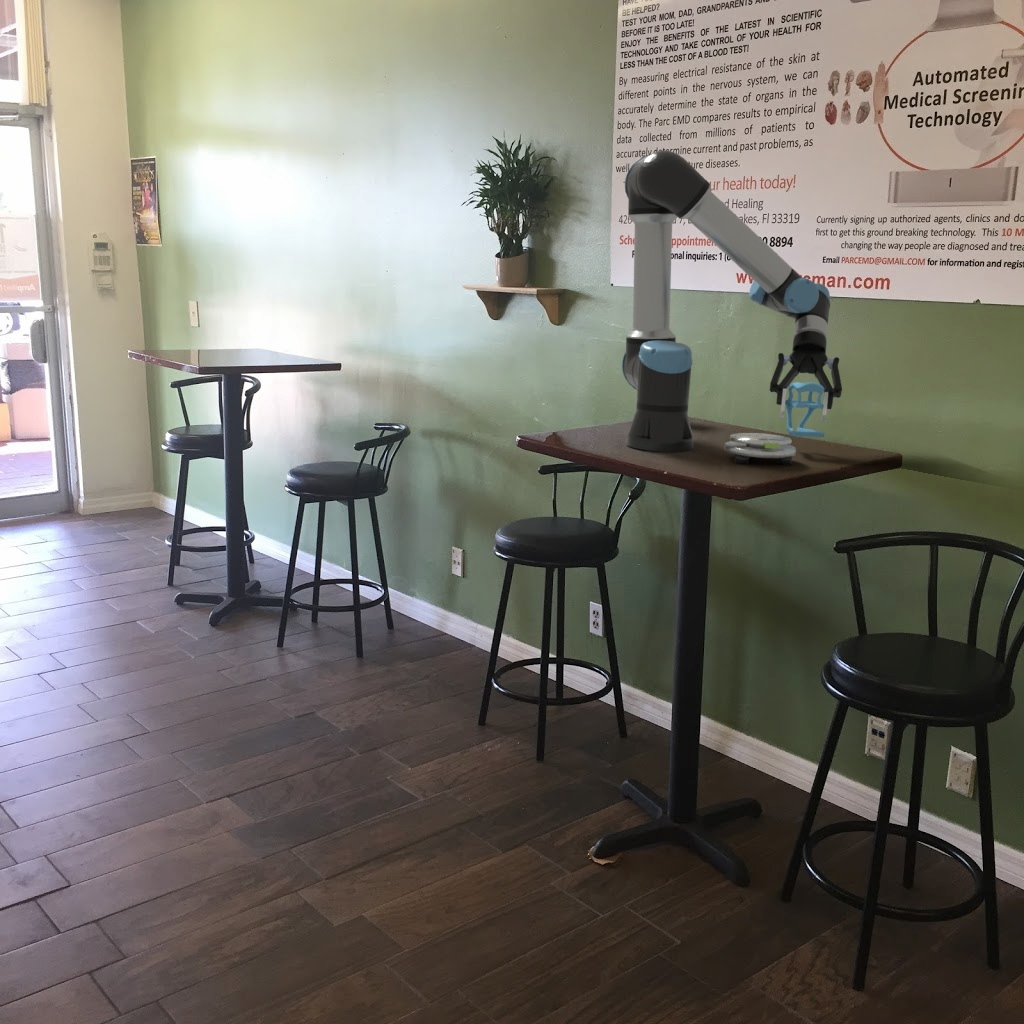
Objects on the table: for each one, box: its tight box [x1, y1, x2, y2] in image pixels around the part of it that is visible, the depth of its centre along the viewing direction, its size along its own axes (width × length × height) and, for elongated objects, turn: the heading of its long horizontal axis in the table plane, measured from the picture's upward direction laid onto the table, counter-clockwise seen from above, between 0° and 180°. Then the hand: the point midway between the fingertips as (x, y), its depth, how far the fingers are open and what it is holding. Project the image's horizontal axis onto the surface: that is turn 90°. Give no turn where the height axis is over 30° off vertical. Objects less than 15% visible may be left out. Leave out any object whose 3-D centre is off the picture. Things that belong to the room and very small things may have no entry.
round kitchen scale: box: [724, 432, 797, 466], centre depth 229 cm, size 15×15×5 cm
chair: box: [785, 381, 825, 438], centre depth 240 cm, size 8×8×12 cm
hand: (803, 416), depth 237 cm, fingers closed on chair, 8 cm apart
